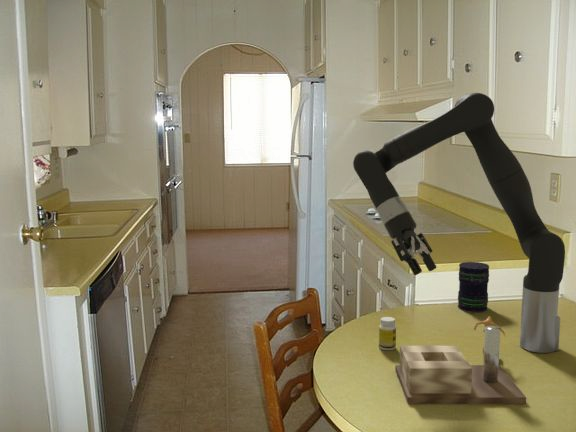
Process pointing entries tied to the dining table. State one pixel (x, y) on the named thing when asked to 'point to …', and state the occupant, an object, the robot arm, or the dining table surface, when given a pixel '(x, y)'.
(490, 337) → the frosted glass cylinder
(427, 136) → the robot arm
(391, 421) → the dining table surface
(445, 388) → the beech bead block
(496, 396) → the walnut board
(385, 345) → the supplement bottle
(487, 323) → the figurine
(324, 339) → the dining table surface
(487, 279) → the storage jar
